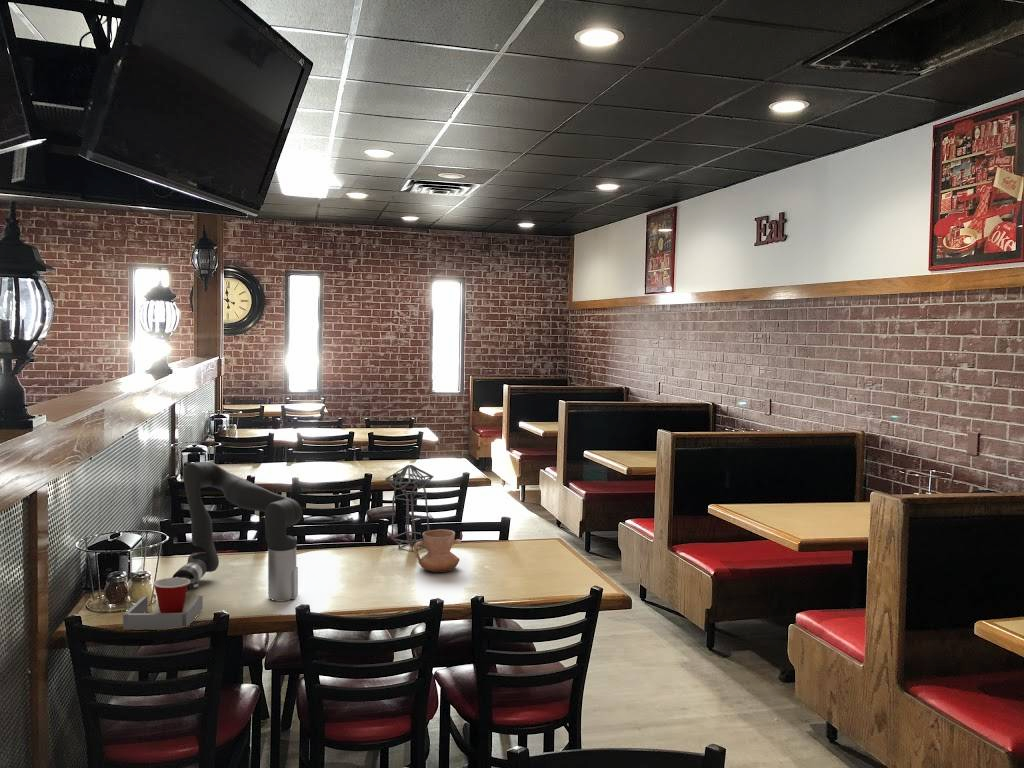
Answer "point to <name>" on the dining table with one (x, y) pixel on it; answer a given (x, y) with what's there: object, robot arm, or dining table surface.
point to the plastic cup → (171, 594)
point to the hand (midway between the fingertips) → (169, 593)
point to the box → (159, 616)
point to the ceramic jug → (438, 551)
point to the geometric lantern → (402, 474)
